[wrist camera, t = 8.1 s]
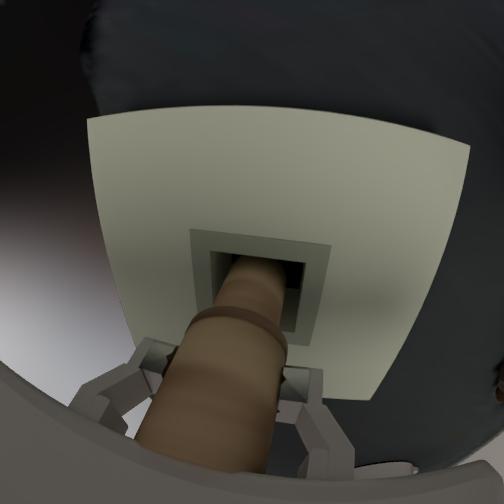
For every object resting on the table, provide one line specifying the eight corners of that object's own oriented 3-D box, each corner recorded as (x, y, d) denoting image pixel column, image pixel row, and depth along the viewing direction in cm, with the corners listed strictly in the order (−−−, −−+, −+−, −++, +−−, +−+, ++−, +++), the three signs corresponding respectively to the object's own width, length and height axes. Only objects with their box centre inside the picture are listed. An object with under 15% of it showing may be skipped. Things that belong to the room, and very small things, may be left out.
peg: (291, 311, 17) (259, 499, 7) (221, 301, 17) (149, 470, 8) (300, 248, 14) (268, 475, 5) (219, 239, 15) (107, 427, 6)
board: (366, 360, 21) (369, 401, 18) (160, 328, 24) (140, 362, 20) (435, 133, 12) (471, 146, 9) (129, 111, 15) (85, 119, 11)
